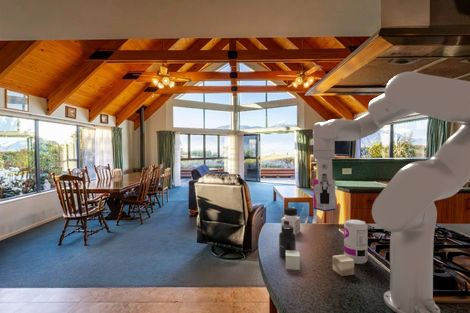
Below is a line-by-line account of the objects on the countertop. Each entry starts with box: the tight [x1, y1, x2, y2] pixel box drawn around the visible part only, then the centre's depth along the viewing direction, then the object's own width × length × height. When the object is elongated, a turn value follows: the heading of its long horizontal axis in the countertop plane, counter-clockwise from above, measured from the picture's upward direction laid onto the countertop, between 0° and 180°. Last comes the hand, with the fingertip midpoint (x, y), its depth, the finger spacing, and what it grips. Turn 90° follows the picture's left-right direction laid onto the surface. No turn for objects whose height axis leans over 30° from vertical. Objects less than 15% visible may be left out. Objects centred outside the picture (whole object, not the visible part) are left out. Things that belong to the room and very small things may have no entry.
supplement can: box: [343, 218, 368, 265], centre depth 97 cm, size 8×8×15 cm
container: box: [280, 206, 301, 236], centre depth 130 cm, size 8×8×13 cm
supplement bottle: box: [278, 225, 297, 259], centre depth 102 cm, size 7×7×12 cm
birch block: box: [332, 253, 355, 277], centre depth 88 cm, size 5×5×5 cm
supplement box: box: [313, 178, 336, 212], centre depth 94 cm, size 6×6×12 cm
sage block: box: [285, 250, 301, 271], centre depth 92 cm, size 5×5×5 cm
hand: (324, 201), depth 94 cm, fingers closed on supplement box, 8 cm apart
